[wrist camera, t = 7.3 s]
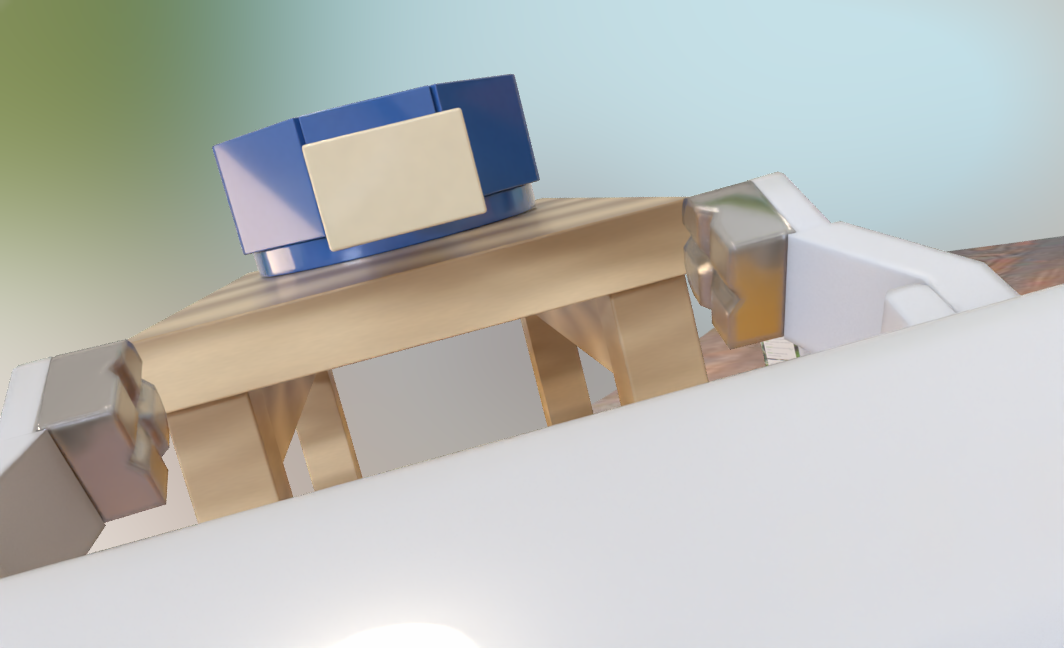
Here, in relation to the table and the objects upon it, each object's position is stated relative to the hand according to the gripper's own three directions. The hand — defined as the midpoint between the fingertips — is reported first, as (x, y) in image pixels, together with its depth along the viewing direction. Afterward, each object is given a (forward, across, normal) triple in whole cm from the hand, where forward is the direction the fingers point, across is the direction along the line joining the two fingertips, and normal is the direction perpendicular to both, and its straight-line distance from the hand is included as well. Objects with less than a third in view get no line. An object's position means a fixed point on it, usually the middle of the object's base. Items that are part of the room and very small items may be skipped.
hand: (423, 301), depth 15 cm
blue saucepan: (+13, 0, +8) cm, 15 cm away
